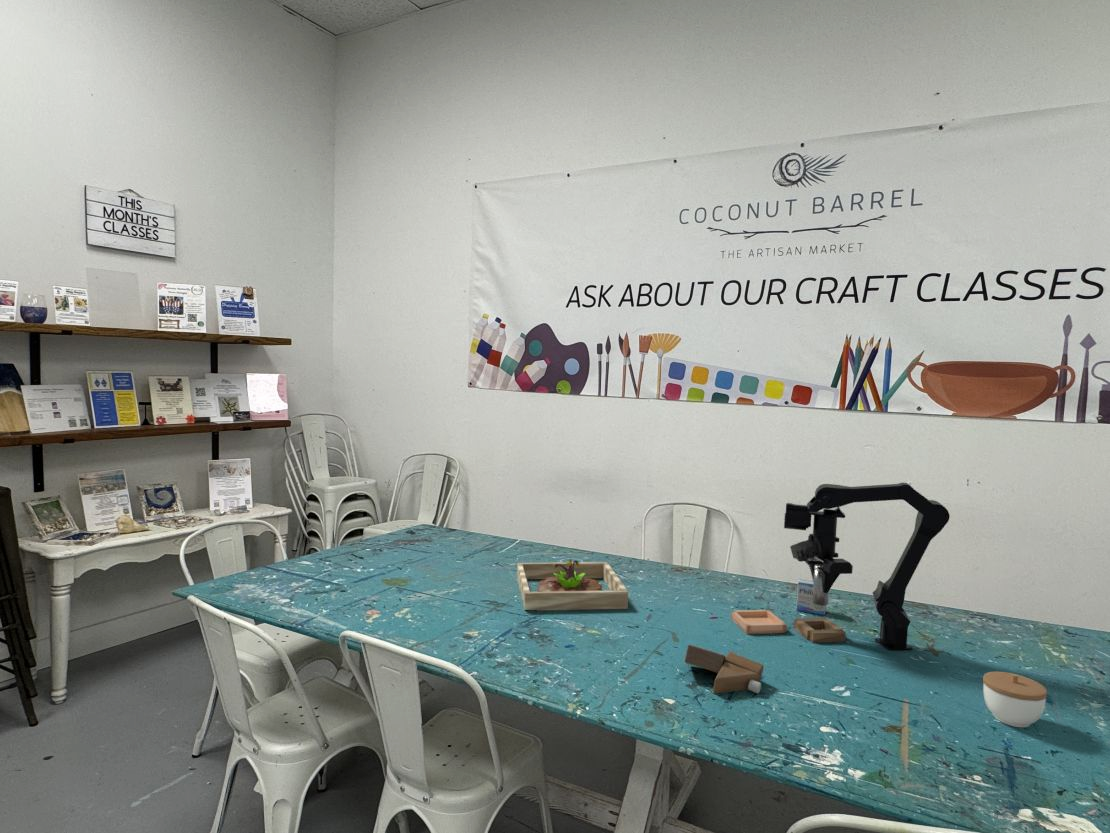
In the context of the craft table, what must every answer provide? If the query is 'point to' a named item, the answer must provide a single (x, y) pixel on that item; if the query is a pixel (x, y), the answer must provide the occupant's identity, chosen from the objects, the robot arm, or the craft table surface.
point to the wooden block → (727, 669)
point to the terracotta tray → (758, 622)
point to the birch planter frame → (571, 599)
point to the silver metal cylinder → (819, 588)
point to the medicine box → (807, 598)
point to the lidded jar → (1014, 698)
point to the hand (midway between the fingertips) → (821, 590)
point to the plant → (569, 581)
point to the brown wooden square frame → (819, 630)
